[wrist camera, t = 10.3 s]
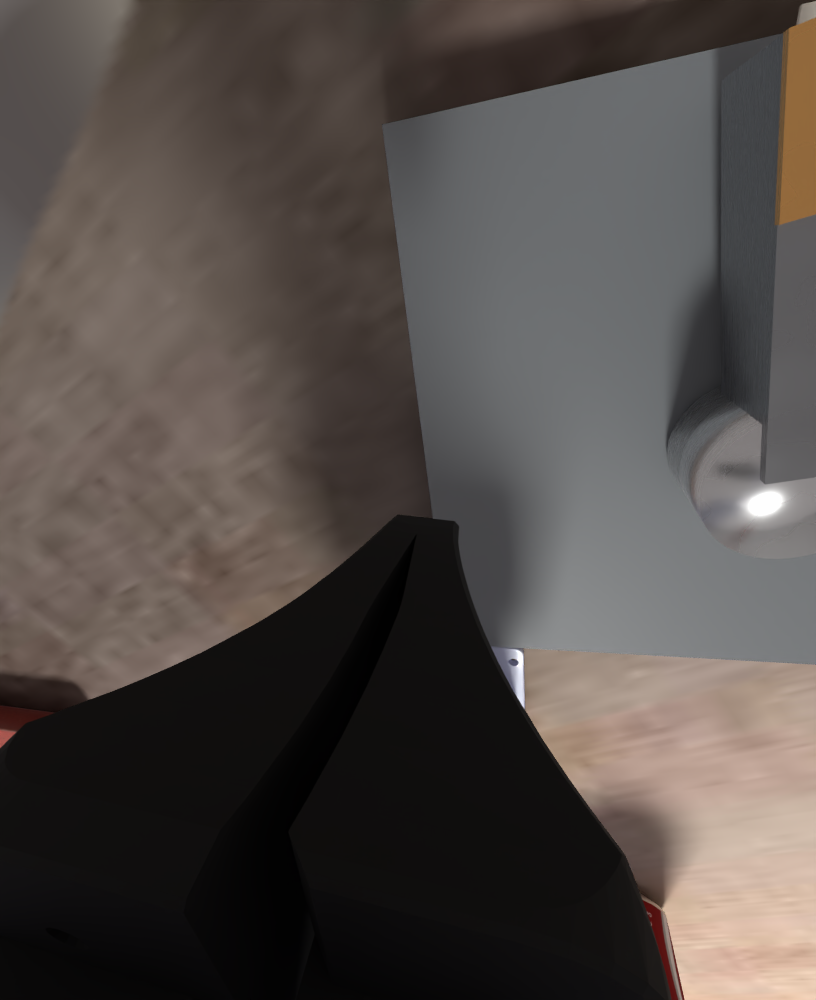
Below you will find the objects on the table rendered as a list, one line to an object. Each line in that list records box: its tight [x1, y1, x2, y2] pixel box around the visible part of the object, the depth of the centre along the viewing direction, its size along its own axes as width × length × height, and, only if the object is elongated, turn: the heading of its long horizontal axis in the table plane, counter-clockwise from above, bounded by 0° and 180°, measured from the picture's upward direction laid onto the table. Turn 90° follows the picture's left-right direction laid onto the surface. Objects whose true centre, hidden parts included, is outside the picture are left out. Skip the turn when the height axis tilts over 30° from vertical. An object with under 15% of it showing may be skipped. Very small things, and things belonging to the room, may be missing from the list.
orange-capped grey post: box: [667, 17, 816, 559], centre depth 12 cm, size 4×12×4 cm, turn 17°
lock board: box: [382, 1, 816, 665], centre depth 15 cm, size 20×21×2 cm
